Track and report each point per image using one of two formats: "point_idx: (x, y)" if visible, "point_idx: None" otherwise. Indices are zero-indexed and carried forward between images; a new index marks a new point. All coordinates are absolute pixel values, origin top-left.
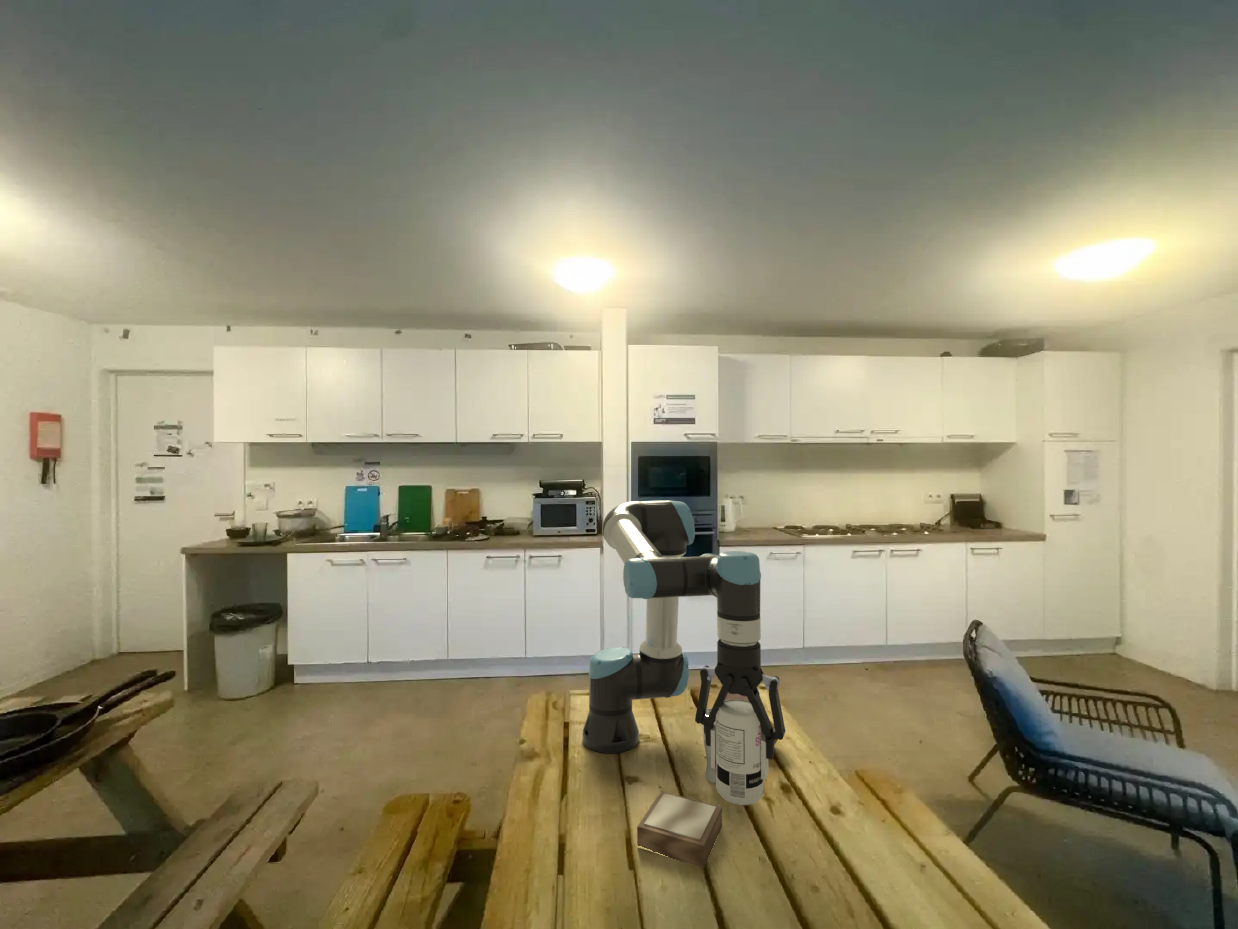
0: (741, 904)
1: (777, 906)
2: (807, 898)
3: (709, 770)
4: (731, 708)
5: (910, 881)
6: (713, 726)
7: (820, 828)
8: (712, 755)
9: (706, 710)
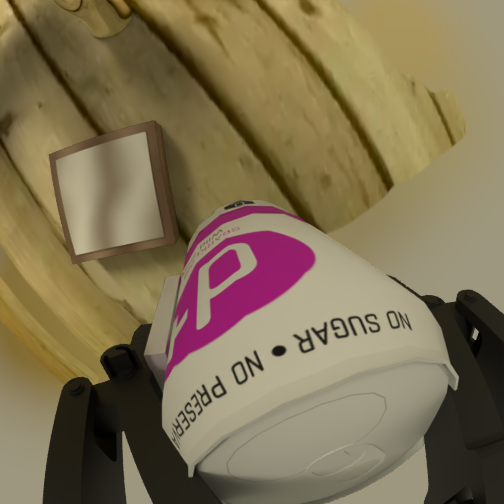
0: None
1: None
2: (321, 204)
3: (94, 29)
4: (288, 484)
5: (408, 115)
6: (155, 379)
7: (301, 50)
8: None
9: None
